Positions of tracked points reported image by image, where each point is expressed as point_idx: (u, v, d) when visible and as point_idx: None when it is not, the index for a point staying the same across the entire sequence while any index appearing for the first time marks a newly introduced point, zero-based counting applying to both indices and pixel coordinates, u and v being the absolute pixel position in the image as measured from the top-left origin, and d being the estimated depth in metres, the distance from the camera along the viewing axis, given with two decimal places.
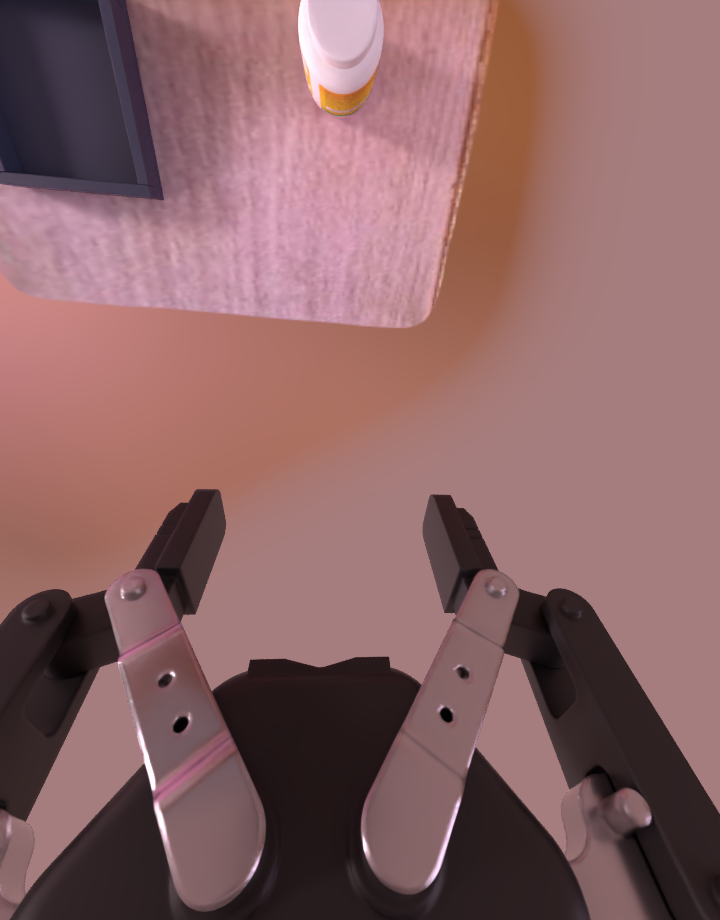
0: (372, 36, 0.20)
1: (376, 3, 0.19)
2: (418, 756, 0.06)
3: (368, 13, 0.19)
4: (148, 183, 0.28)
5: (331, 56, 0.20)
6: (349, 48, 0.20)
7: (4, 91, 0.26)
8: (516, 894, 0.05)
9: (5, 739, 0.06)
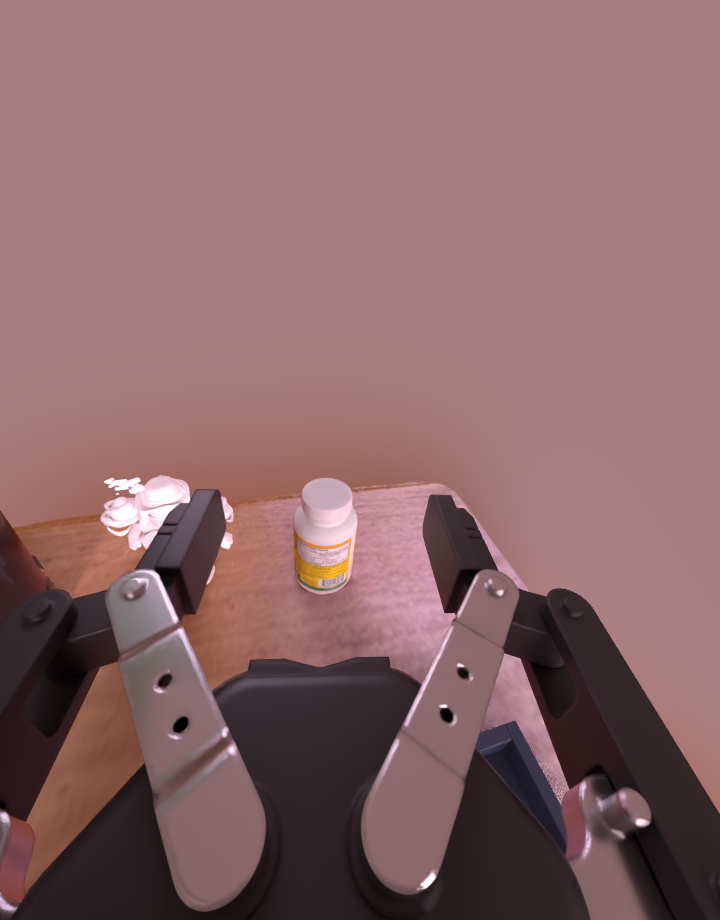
0: (332, 479, 0.29)
1: (318, 479, 0.28)
2: (418, 756, 0.06)
3: (324, 481, 0.28)
4: (502, 725, 0.21)
5: (351, 495, 0.27)
6: (343, 487, 0.28)
7: None
8: (516, 894, 0.05)
9: (5, 739, 0.06)
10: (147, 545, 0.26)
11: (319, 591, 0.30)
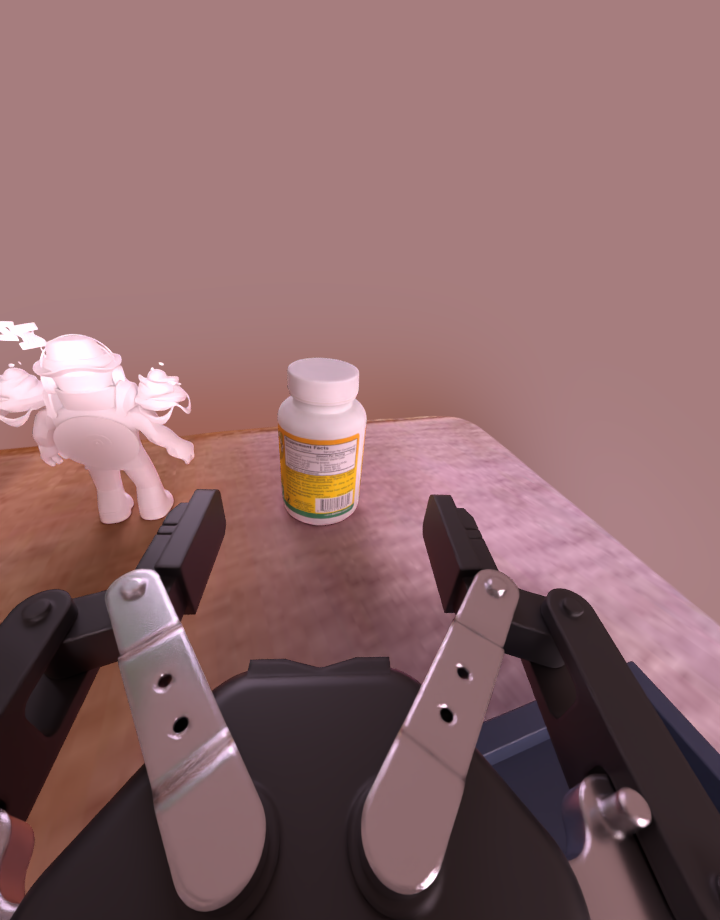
0: None
1: (310, 358, 0.21)
2: (418, 756, 0.06)
3: (318, 360, 0.20)
4: None
5: (358, 371, 0.19)
6: (346, 365, 0.20)
7: None
8: (516, 894, 0.05)
9: (5, 739, 0.06)
10: (62, 445, 0.18)
11: (317, 519, 0.22)
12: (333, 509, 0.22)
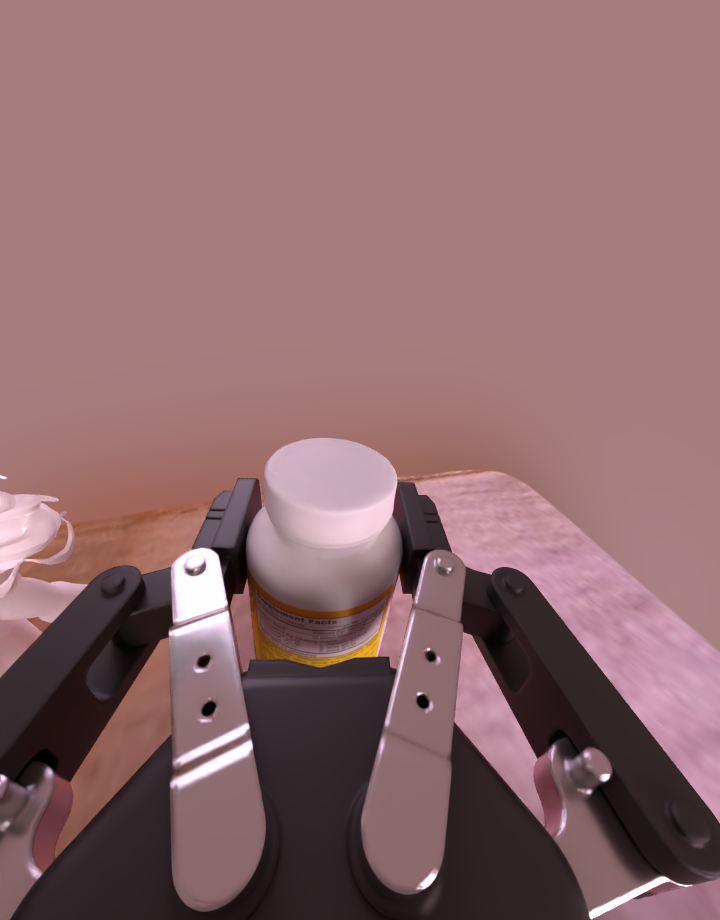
0: None
1: (309, 439, 0.12)
2: (418, 756, 0.06)
3: (323, 444, 0.12)
4: None
5: (395, 474, 0.11)
6: (372, 457, 0.11)
7: None
8: (516, 894, 0.05)
9: (65, 700, 0.07)
10: None
11: None
12: None
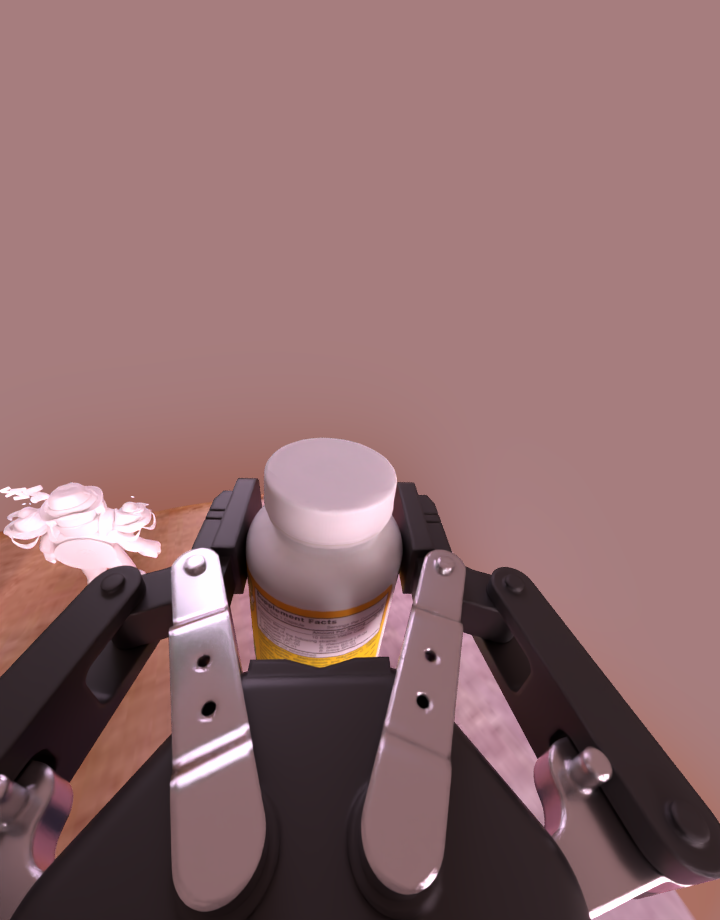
0: None
1: (308, 439, 0.12)
2: (418, 756, 0.06)
3: (323, 444, 0.12)
4: None
5: (394, 474, 0.11)
6: (371, 457, 0.11)
7: None
8: (516, 894, 0.05)
9: (66, 700, 0.07)
10: (60, 557, 0.25)
11: None
12: None
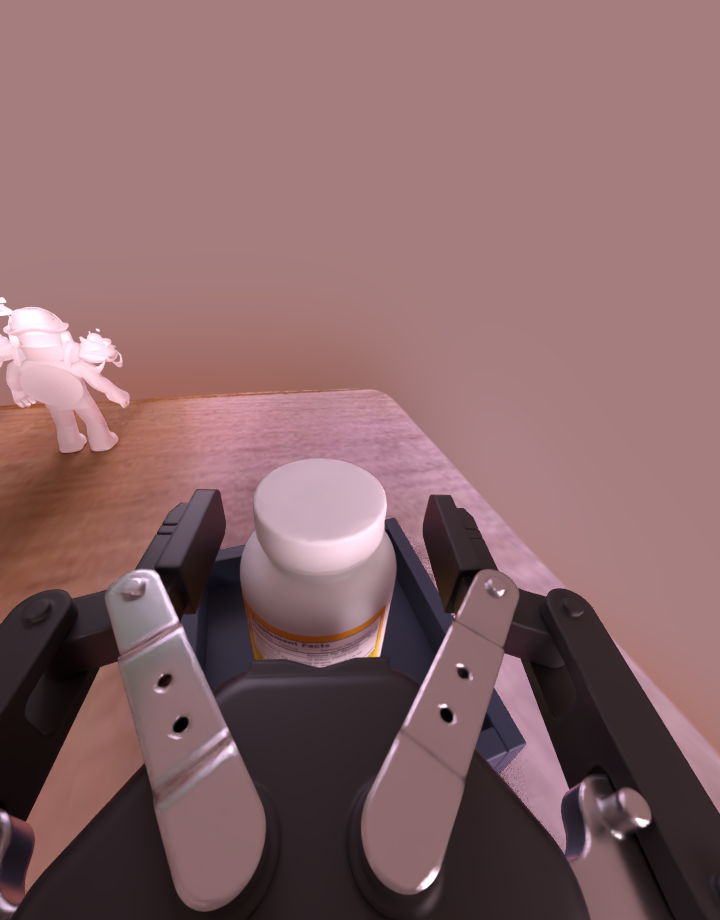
0: None
1: (299, 460, 0.12)
2: (418, 756, 0.06)
3: (313, 465, 0.12)
4: None
5: (384, 497, 0.10)
6: (362, 478, 0.11)
7: None
8: (516, 894, 0.05)
9: (5, 739, 0.06)
10: (26, 387, 0.25)
11: None
12: None
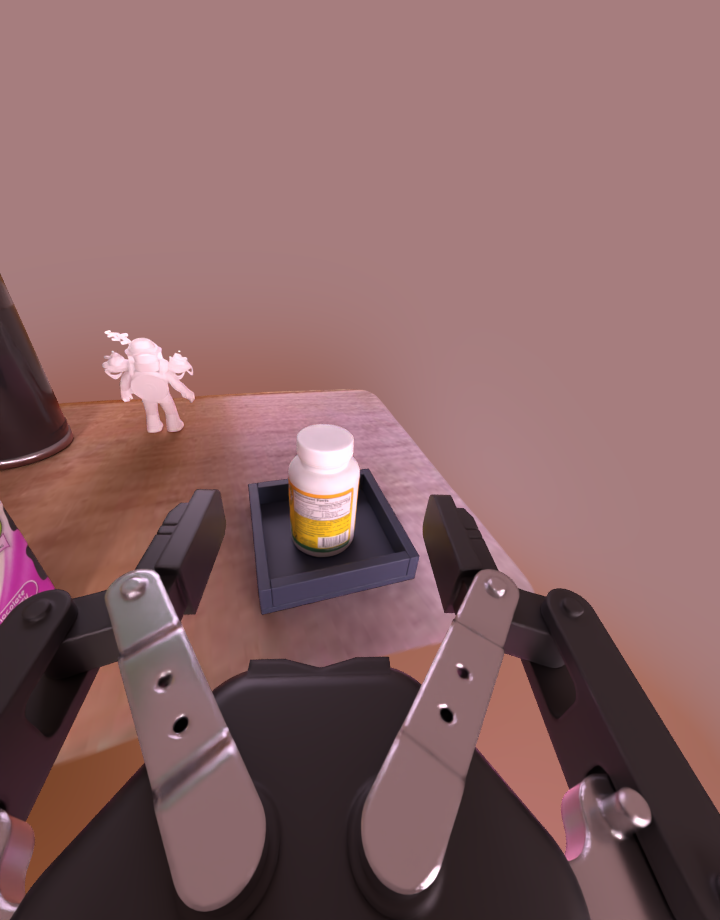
0: (331, 425, 0.26)
1: (315, 424, 0.25)
2: (418, 756, 0.06)
3: (321, 426, 0.25)
4: None
5: (352, 438, 0.24)
6: (343, 431, 0.25)
7: None
8: (516, 894, 0.05)
9: (5, 739, 0.06)
10: (134, 388, 0.39)
11: (319, 553, 0.27)
12: (332, 545, 0.26)
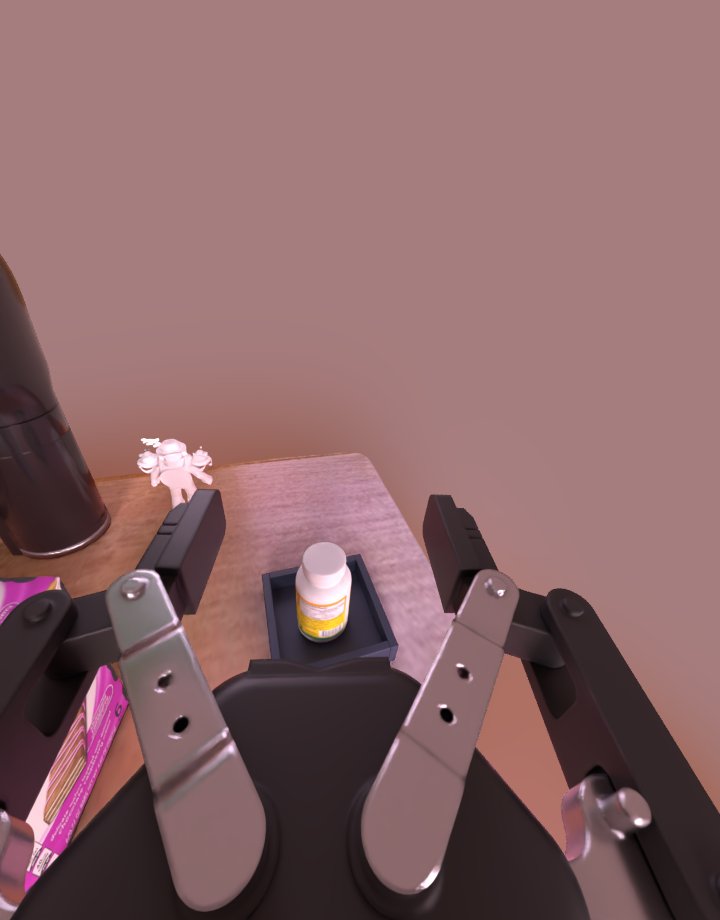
0: (328, 542, 0.33)
1: (316, 543, 0.33)
2: (418, 756, 0.06)
3: (321, 545, 0.32)
4: (353, 555, 0.41)
5: (345, 559, 0.31)
6: (338, 551, 0.32)
7: None
8: (516, 894, 0.05)
9: (5, 739, 0.06)
10: (162, 479, 0.46)
11: (319, 640, 0.34)
12: (330, 634, 0.34)
